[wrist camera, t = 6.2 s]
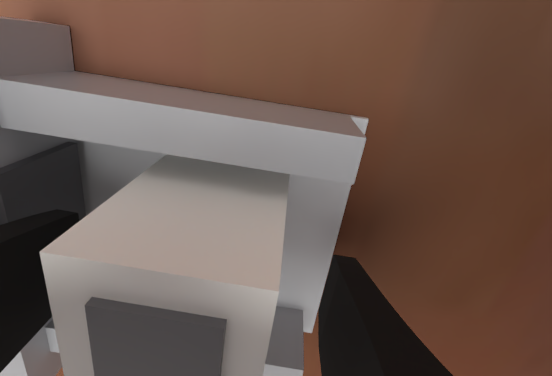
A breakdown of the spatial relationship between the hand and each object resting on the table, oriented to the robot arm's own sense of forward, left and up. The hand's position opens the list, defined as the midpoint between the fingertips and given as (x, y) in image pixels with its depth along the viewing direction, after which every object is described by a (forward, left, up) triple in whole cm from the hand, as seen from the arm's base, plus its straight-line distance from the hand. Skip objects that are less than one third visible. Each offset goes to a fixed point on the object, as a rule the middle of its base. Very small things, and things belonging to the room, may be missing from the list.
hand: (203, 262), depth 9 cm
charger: (0, 0, -3) cm, 3 cm away
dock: (+1, 0, -3) cm, 3 cm away
